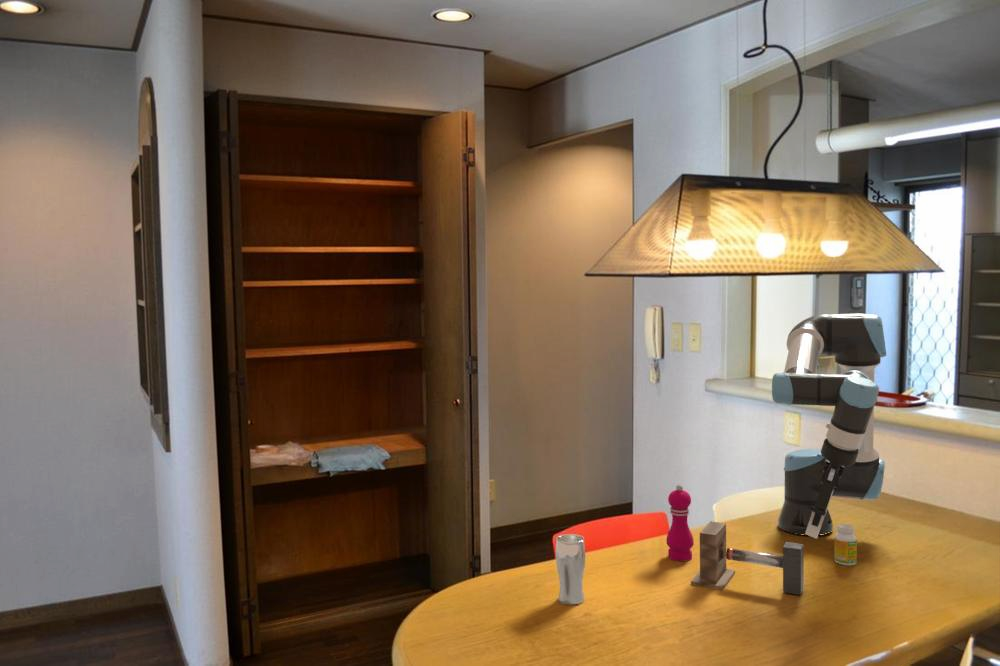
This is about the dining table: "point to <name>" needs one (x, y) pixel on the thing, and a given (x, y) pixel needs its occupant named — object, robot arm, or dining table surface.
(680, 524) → the pepper mill
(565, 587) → the beer glass
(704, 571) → the wooden arch frame
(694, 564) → the dining table surface
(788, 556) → the metal rod with plate
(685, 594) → the dining table surface
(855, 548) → the supplement bottle
